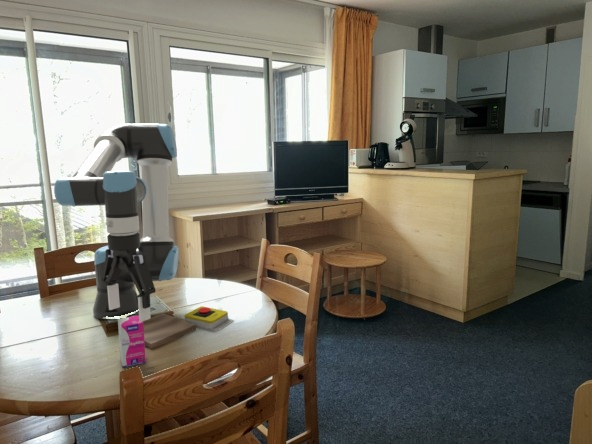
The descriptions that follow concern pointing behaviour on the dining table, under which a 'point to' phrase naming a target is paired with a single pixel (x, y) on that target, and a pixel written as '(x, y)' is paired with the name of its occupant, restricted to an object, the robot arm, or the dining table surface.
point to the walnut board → (164, 329)
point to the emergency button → (208, 318)
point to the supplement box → (131, 341)
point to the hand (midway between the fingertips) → (129, 314)
